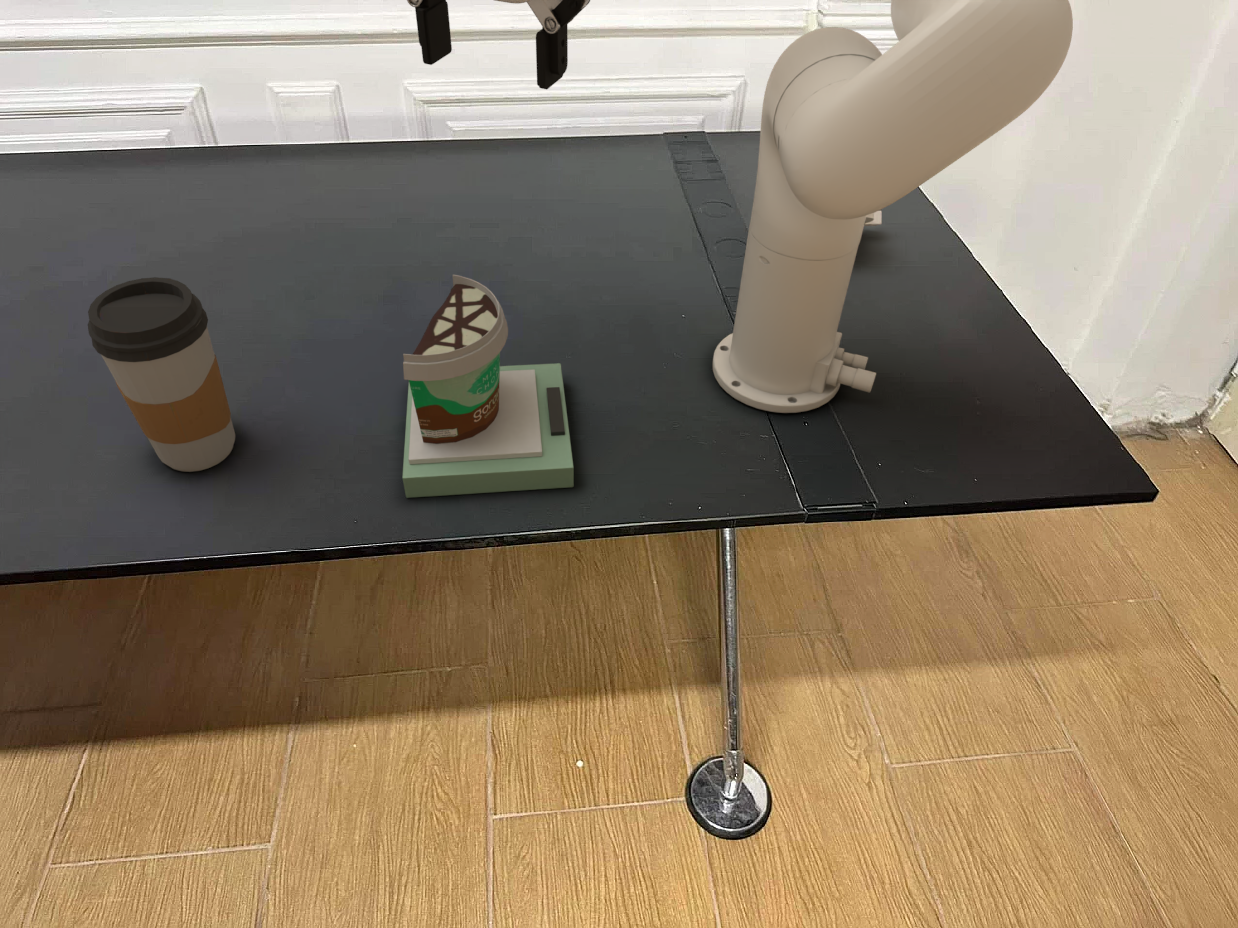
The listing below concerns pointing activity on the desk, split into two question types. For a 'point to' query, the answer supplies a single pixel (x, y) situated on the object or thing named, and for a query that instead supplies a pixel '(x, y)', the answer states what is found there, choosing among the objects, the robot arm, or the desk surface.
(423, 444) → the kitchen scale
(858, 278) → the desk surface
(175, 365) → the coffee cup
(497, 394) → the food container
